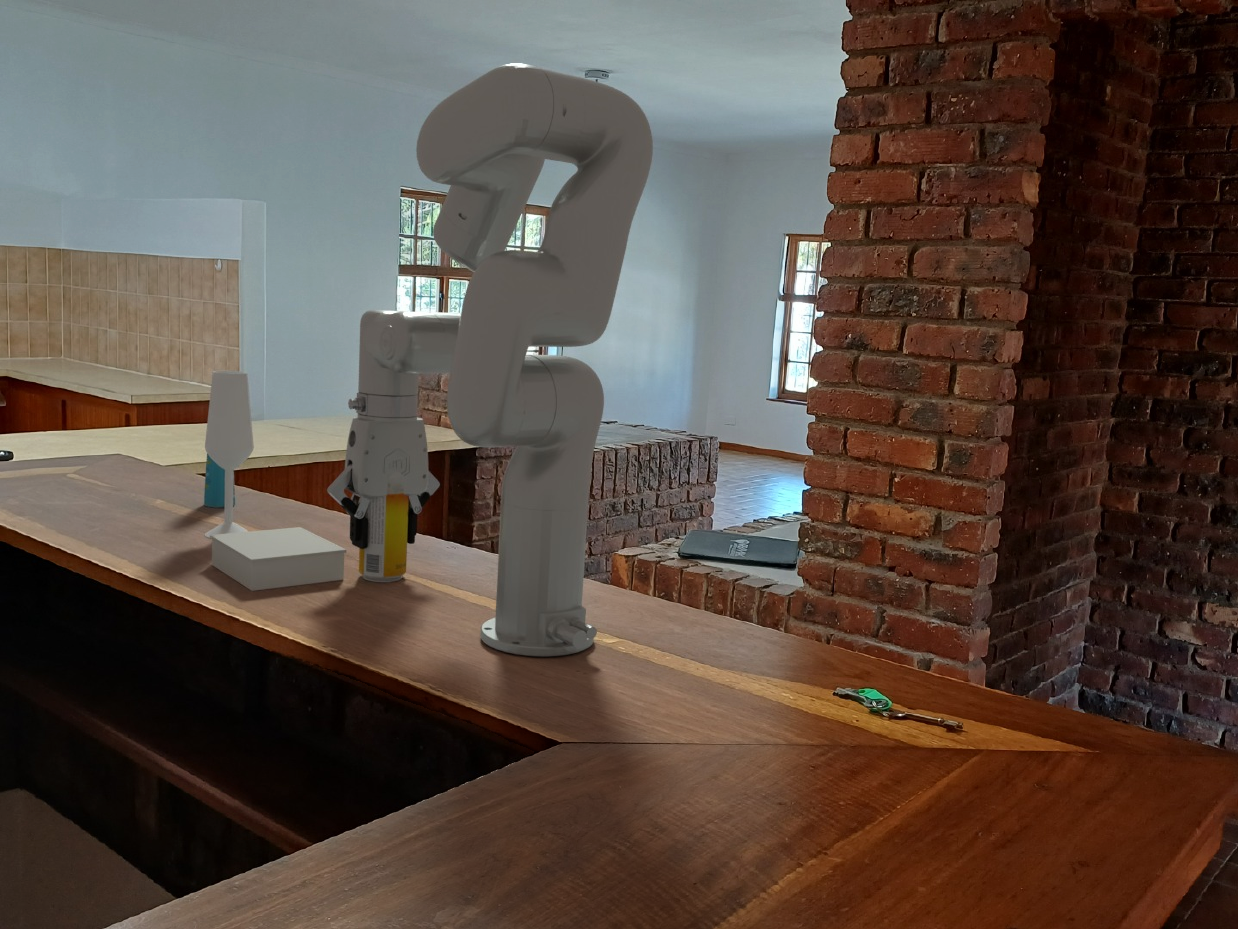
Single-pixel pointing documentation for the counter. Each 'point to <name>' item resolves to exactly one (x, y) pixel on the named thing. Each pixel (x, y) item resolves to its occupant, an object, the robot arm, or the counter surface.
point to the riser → (277, 558)
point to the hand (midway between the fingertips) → (383, 542)
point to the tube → (215, 485)
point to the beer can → (386, 534)
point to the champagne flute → (229, 434)
